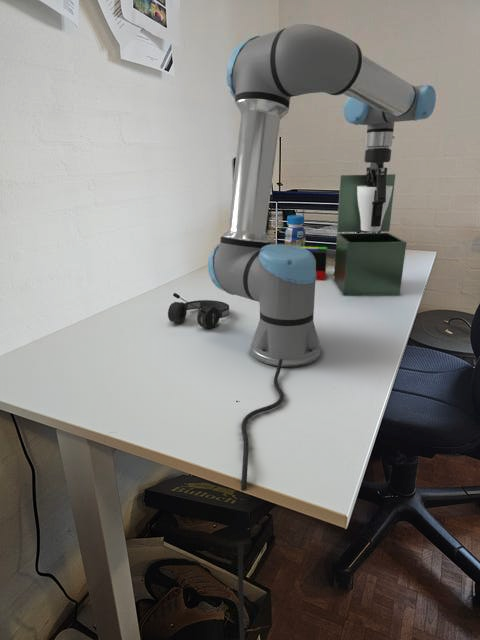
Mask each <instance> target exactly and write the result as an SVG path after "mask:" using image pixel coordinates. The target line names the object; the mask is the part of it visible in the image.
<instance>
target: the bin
mask: <svg viewBox="0 0 480 640" xmlns="http://www.w3.org/2000/svg"><path fill="white" fill-rule="evenodd" d="M335 245H336V246H335V256H334V257H335V259H334V274H333V281H334V283H335V284H336V286H337V288H338V289H339V291H340V292H341V294H342V295H343V296H400V294H401V286H402V279H403V272H404V264H405V257H406V250H407V241H405V240H403V239H402V238H399V237H398V236H396V235H393V234H391V232H336V243H335Z"/></svg>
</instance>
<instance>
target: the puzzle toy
mask: <svg viewBox="0 0 480 640" xmlns="http://www.w3.org/2000/svg"><path fill="white" fill-rule="evenodd" d="M301 248H304V249H306V250H308V251H310V252H311V253H312V254H313V256H314V257H315V260H316V274H317V276H316V281H325V279H326V273H327V260H328V246H327V247H326V246H305V247H301Z"/></svg>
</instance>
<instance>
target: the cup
mask: <svg viewBox="0 0 480 640" xmlns="http://www.w3.org/2000/svg"><path fill="white" fill-rule="evenodd" d="M392 188H393V186H387V185H386V202H385V203H383V207H382V216H381V225H382V221H383V218H384V215H385V212H386V209H387V207H388V204H389V200H390V197H391V193H392ZM375 190H377V187H367V185H364V186H357V198H358V207H359V212H360V220H361V230H362V231H367V232H366V233H378V232H377V231H380V230H381V225H380V227H371V219H372V209H373V205H372V202H374V193H375Z"/></svg>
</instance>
